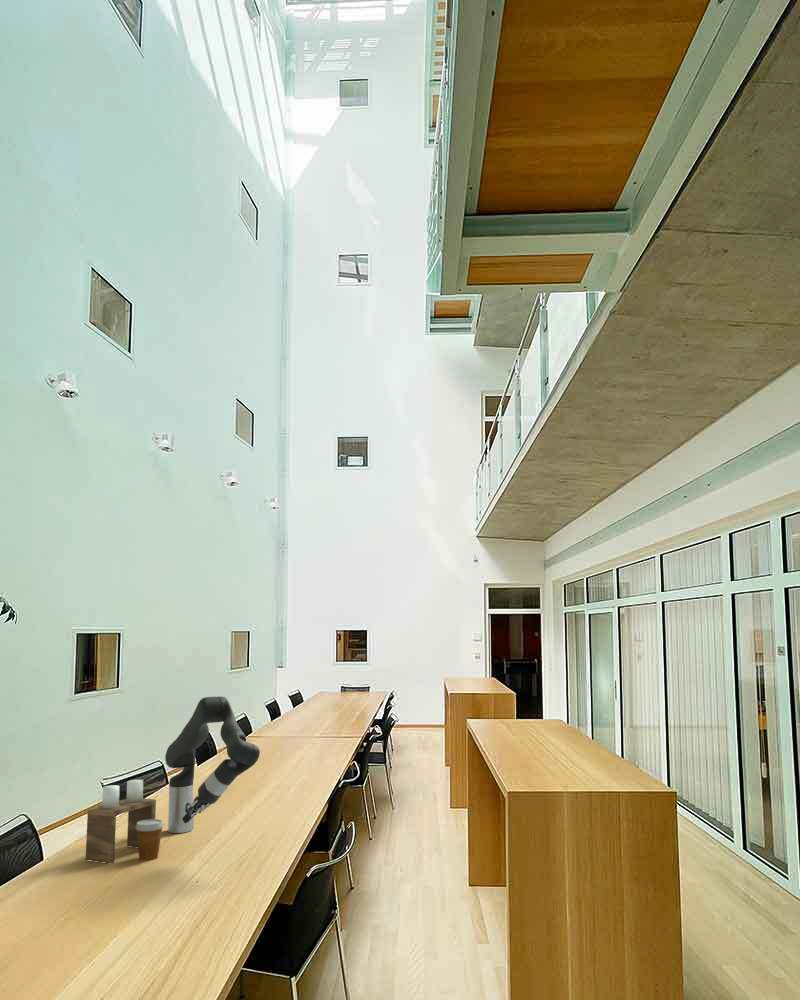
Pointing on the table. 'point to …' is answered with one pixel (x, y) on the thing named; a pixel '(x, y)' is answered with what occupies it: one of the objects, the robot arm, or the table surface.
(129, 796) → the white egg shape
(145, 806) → the wooden bench stand
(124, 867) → the table surface
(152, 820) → the disposable coffee cup
